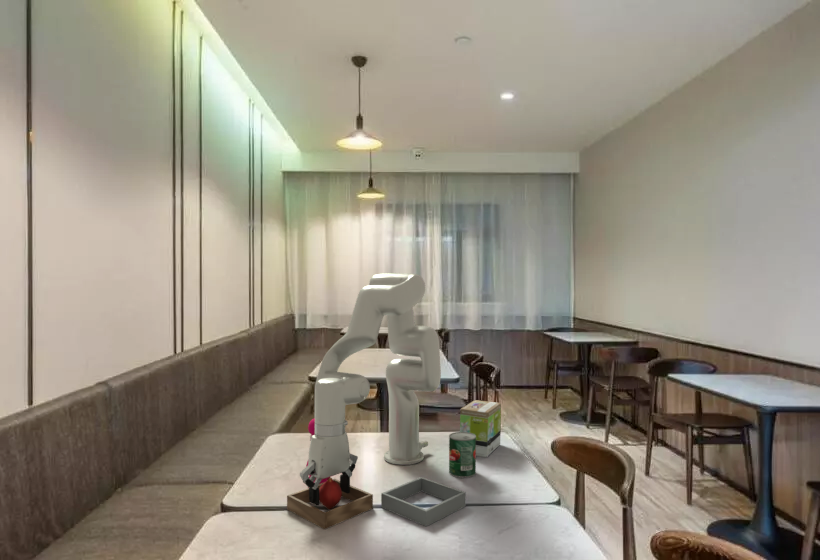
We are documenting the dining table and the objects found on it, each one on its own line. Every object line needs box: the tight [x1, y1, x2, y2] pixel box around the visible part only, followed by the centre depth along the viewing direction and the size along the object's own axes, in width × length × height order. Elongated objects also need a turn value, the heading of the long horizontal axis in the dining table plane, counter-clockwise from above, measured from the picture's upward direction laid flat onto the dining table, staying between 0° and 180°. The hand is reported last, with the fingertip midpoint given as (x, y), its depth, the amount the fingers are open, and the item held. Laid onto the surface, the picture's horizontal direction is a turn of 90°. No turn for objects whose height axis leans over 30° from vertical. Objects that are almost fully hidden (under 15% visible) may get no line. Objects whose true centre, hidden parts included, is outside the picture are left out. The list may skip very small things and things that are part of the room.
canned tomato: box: [448, 431, 477, 479], centre depth 158 cm, size 8×8×11 cm
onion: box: [319, 477, 342, 511], centre depth 133 cm, size 6×6×8 cm
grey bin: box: [380, 476, 467, 527], centre depth 135 cm, size 15×15×4 cm
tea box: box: [459, 399, 502, 458], centre depth 179 cm, size 15×10×15 cm, turn 155°
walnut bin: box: [286, 478, 374, 530], centre depth 133 cm, size 15×15×4 cm
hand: (330, 497), depth 133 cm, fingers open, 9 cm apart
